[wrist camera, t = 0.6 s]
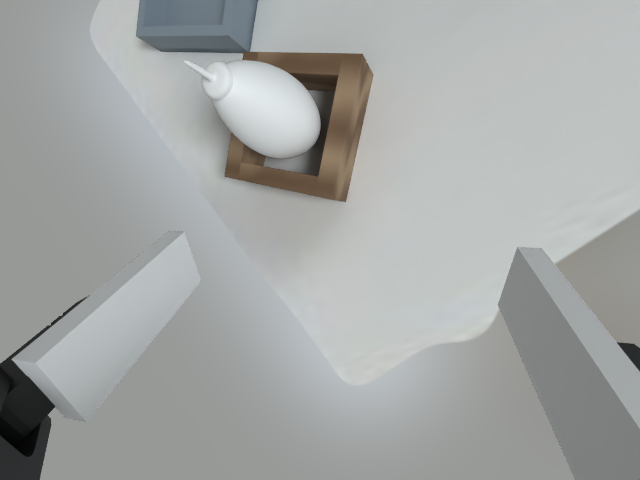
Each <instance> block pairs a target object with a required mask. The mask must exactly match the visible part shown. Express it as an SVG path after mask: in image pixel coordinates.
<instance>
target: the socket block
mask: <svg viewBox="0 0 640 480" xmlns="http://www.w3.org/2000/svg"><path fill="white" fill-rule="evenodd" d="M243 60H249V61H259V62H263V63H267V64H270V65H273V66H275V67H278V68H280V69H282V70H284V71H286V72H287V73H289V74H290V75H292V76H293V77H294V78H296V79H297V80H298V81H299V82H300V83H302V85H303V86H304V87H305V88H306V89H307V90H317V91H332V92H335V96H334V101H333V106H332V111H331V116H330V121H329V126H328V131H327V136H326V141H325V146H324V151H323V156H322V161H321V166H320V171H319V176H318V177H317V176H312V175H307V174H301V173H296V172H290V171H285V170H280V169H274V168H269V167H263V165H264V160H265V155H262V154H260V153H258V152H256V151H254V150H253V149H251V148H249V147H248V146H246V145H245V144H244V143H243V142H241V141H240V140H239V139H238V138H237V137H236V136H235V135H234V134H233V133H231V139H230V146H229V152H228V159H227V166H226V172H225V177H228V178H233V179H238V180H242V181H247V182H252V183H257V184H261V185H266V186H271V187H275V188H280V189H285V190H289V191H294V192H299V193H304V194H308V195H313V196H318V197H322V198H327V199H332V200H338V201H343V202H346V198H347V194H348V189H349V185H350V180H351V175H352V171H353V166H354V162H355V157H356V152H357V148H358V143H359V138H360V134H361V129H362V125H363V120H364V115H365V111H366V106H367V102H368V97H369V92H370V88H371V83H372V78H373V73H372V71H371V69H370V68H369V66H368V64H367V62H366V60H365V58H364V56H363V54H343V53H282V52H244V54H243Z"/></svg>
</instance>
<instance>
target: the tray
mask: <svg viewBox="0 0 640 480" xmlns="http://www.w3.org/2000/svg"><path fill="white" fill-rule="evenodd" d="M257 1H258V0H140V3H139V12H138V22H137V32H136V37H138V38H140V39H142V40H143V41H145V42H147V43H148V44H150V45H152V46H153V47H155V48H157V49H159V50H160V51H164V52H220V53H244V52H250V47H251V40H252V34H253V27H254V21H255V14H256V8H257Z"/></svg>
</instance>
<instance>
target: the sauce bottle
mask: <svg viewBox="0 0 640 480" xmlns="http://www.w3.org/2000/svg"><path fill="white" fill-rule="evenodd" d="M184 63H185V64H186V65H187V66H189V67H190V68H191V69H193V70H194V71H196V72H197V73H199V74H200V75H202V87H203V90H204V92H205V93H206V95H207V96H209V97H210V98H211V100H212V103H213V105H214V107H215V109H216V111H217V113H218V115H219V116H220V118H221V119H222V121H223V122H224V123H225V125H226V126H227V127H228V129H229V130H230V131H231V132H232V133H233V134H234V135H235V136H236V137H237V138H238V139H239V140H240V141H241V142H243V143H244V144H245V145H246V146H248V147H249V148H251V149H253V150H254V151H256V152H258V153H260V154H262V155H265V156H268V157H273V158H278V159H285V158H292V157H296V156H299V155H301V154H303V153H305V152H306V151H308V150H309V149H310V148H311V147H312V146H313V145H314V144H315V143H316V141H317V139H318V137H319V134H320V130H321V121H320V115H319V111H318V108H317V105H316V103H315V101H314V100H313V98H312V96H311V94H310V93H309V92H308V90H307V89H306V88H305V87H304V86H303V85H302V83H300V82H299V81H298V80H297V79H296V78H294V77H293V76H292V75H290V74H289V73H287V72H286V71H284V70H282V69H280V68H278V67H275V66H273V65H270V64H267V63H263V62H259V61H249V60H238V61H232V62H228V63H226V64H225V63H222V62H218V61H217V62H213V63H211V64H210V65H208V66H207V67H206V69H203V68H201V67H199V66H197V65H196V64H194V63H191V62H189V61H186V60H184Z"/></svg>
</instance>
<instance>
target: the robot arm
mask: <svg viewBox="0 0 640 480" xmlns="http://www.w3.org/2000/svg"><path fill="white" fill-rule="evenodd" d="M200 282H201V280H200V276H199V273H198V270H197V267H196V264H195V261H194V259H193V256H192V253H191V250H190V247H189V244H188V241H187V238H186V235H185V232H179V231H168V232H167V233H166V234H165V235H163V236H162V237H161V238H160V239H158V241H156V242H155V243H154V244H152V245H151V246H150V247H149V248H148V249H146V250H145V251H144V252H143V253H141V254H140V255H139V256H138V257H136V258H135V259H134V260H133V261H131V262H130V263H129V264H128V265H127V266H125V267H124V268H123V269H122V270H120V271H119V272H118V273H117V274H116V275H114V276H113V277H112V278H111V279H110V280H108V281H107V282H106V283H104V284H103V285H102V286H101V287H100V288H98V289H97V290H96V291H95V292H94V293H92V294H91V295H89V296H88V297H86V298H84V299H82V300H80V301H79V302H77V303H75V304H74V305H73V306H72V307H71V308H69V309H68V310H67V311H66V312H64V313H63V315H62V316H59V317H58V318H57V319H56V320H54V321H53V322H52V323H51V325H50V326H47V327H46V328H44V329H43V330H42V331H41V332H40V333H38V334H37V335H36V336H34V337H33V338H32V339H31V340H29V341H28V342H27V343H26V344H24V345H23V346H22V347H21V348H20V349H18V350H17V351H16V352H15V353H13V354H12V355H11V356H10V357H8V358H7V359H6V360H5V361H3V362H2V363H0V480H40V475H41V470H42V466H43V461H44V456H45V451H46V447H47V442H48V437H49V433H50V428H51V418H50V417H49V416H48V414H49V413H50V412H51V411H52V410H53V408H54V407H56V408H57V409H58V410H59V411H60V413H62V415H63V416H64V417H65V418H69V419H73V420H79V421H84V422H87V421H88V419H89V418H90V417H91V416H92V414H93V413H94V412H95V411H96V410H97V408H98V407H99V406H100V405H101V403H102V402H103V401H104V400H105V399H106V397H107V396H108V395H109V394H110V392H111V391H112V390H113V389H114V387H115V386H116V385H117V384H118V383H119V381H120V380H121V379H122V378H123V377H124V375H125V374H126V373H127V372H128V370H129V369H130V368H131V367H132V365H133V364H134V363H135V362H136V360H137V359H138V358H139V357H140V356H141V354H142V353H143V352H144V351H145V350H146V348H147V347H148V346H149V345H150V343H151V342H152V341H153V340H154V338H155V337H156V336H157V335H158V334H159V332H160V331H161V330H162V329H163V327H164V326H165V325H166V324H167V322H168V321H169V320H170V319H171V318H172V316H173V315H174V314H175V313H176V311H177V310H178V309H179V308H180V306H181V305H182V304H183V303H184V302H185V300H186V299H187V298H188V297H189V296H190V294H191V293H192V292H193V291H194V289H195V288H196V287H197V285H198V284H199V283H200ZM498 306H499V309H500V311H501V313H502V315H503V317H504V320H505V322H506V324H507V327H508V329H509V331H510V333H511V336H512V338H513V340H514V342H515V345H516V347H517V349H518V351H519V354H520V356H521V358H522V361H523V363H524V365H525V367H526V370H527V372H528V374H529V377H530V379H531V381H532V383H533V386H534V388H535V390H536V392H537V395H538V397H539V399H540V401H541V404H542V406H543V408H544V411H545V413H546V415H547V417H548V419H549V422H550V424H551V426H552V428H553V431H554V433H555V436H556V438H557V440H558V442H559V445H560V447H561V449H562V451H563V454H564V456H565V458H566V460H567V463H568V465H569V467H570V470H571V472H572V474H573V476H574V479H575V480H640V348H639V347H637V346H636V345H635V344H629V343H617V342H616V341H615V340H614V339H613V338H612V336H611V335H610V334H609V332H608V331H607V330H606V329H605V327H604V326H603V325H602V324H601V322H600V321H599V320H598V319H597V317H596V316H595V315H594V313H593V312H592V311H591V310H590V308H589V307H588V306H587V305H586V303H585V302H584V301H583V300H582V299H581V297H580V296H579V295H578V293H577V292H576V291H575V290H574V288H573V287H572V286H571V285H570V283H569V282H568V281H567V280H566V278H565V277H564V276H563V274H562V273H561V272H560V271H559V270H558V268H557V267H556V266H555V264H554V263H553V262H552V261H551V259H550V258H549V257H548V256H547V254H546V253H545V252H544V251H543V249H542V248H526V247H517V250H516V253H515V256H514V259H513V262H512V265H511V267H510V270H509V273H508V276H507V279H506V282H505V285H504V288H503V291H502V294H501V297H500V300H499V303H498Z"/></svg>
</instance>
